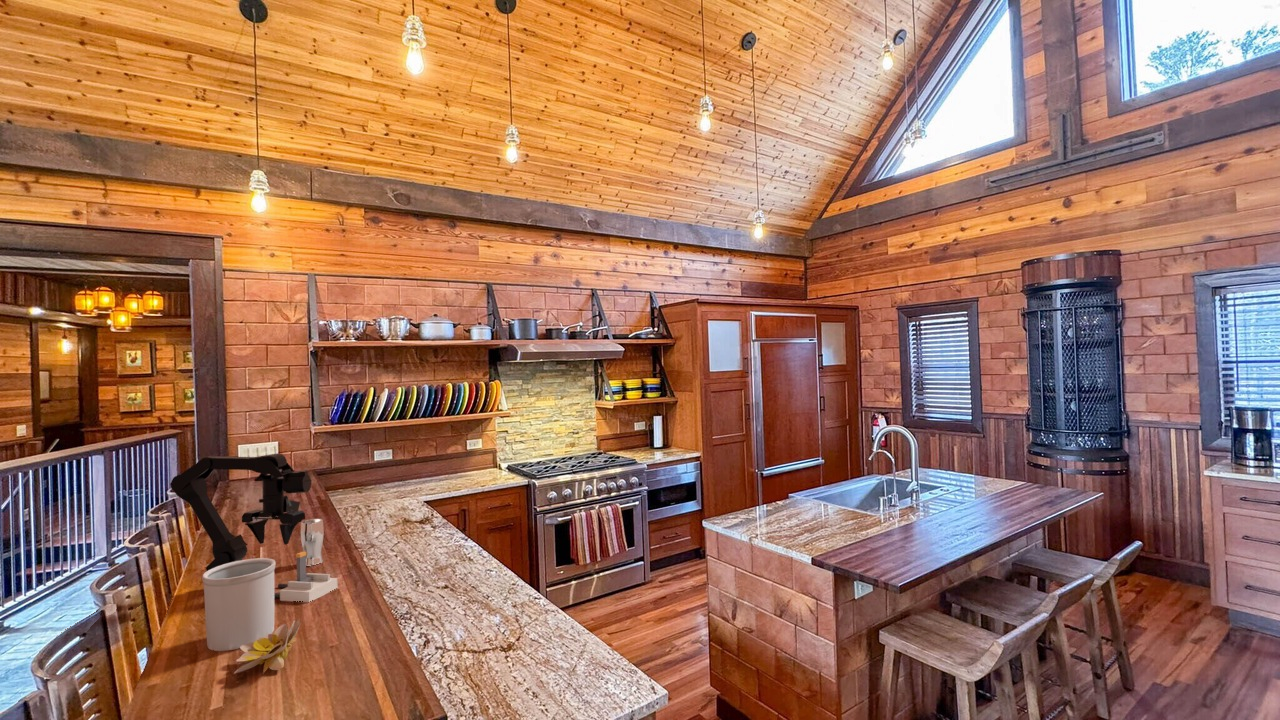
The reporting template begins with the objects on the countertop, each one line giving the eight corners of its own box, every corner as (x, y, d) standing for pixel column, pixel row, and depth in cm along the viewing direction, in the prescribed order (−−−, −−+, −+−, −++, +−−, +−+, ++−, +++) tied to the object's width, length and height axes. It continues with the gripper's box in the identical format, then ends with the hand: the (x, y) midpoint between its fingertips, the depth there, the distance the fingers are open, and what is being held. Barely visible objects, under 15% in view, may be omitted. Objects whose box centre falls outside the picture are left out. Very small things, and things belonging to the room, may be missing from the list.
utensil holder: (238, 655, 129) (237, 579, 129) (186, 650, 132) (186, 576, 132) (290, 626, 143) (289, 559, 144) (242, 623, 146) (242, 556, 147)
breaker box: (253, 598, 163) (253, 582, 163) (284, 584, 174) (284, 569, 174) (309, 602, 159) (309, 585, 159) (337, 587, 170) (337, 572, 170)
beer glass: (316, 567, 190) (315, 523, 190) (296, 567, 190) (296, 523, 190) (328, 560, 197) (327, 518, 197) (309, 560, 197) (308, 518, 197)
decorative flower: (243, 645, 130) (254, 603, 130) (298, 647, 134) (308, 606, 134) (221, 682, 116) (233, 635, 116) (283, 683, 120) (294, 637, 120)
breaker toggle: (290, 585, 164) (290, 555, 164) (304, 579, 169) (303, 550, 169) (299, 586, 163) (298, 555, 163) (312, 579, 168) (312, 550, 168)
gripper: (318, 489, 180) (319, 537, 180) (270, 488, 184) (271, 535, 184) (290, 496, 169) (290, 547, 169) (240, 496, 173) (240, 546, 173)
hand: (273, 543), depth 174 cm, fingers open, 9 cm apart
